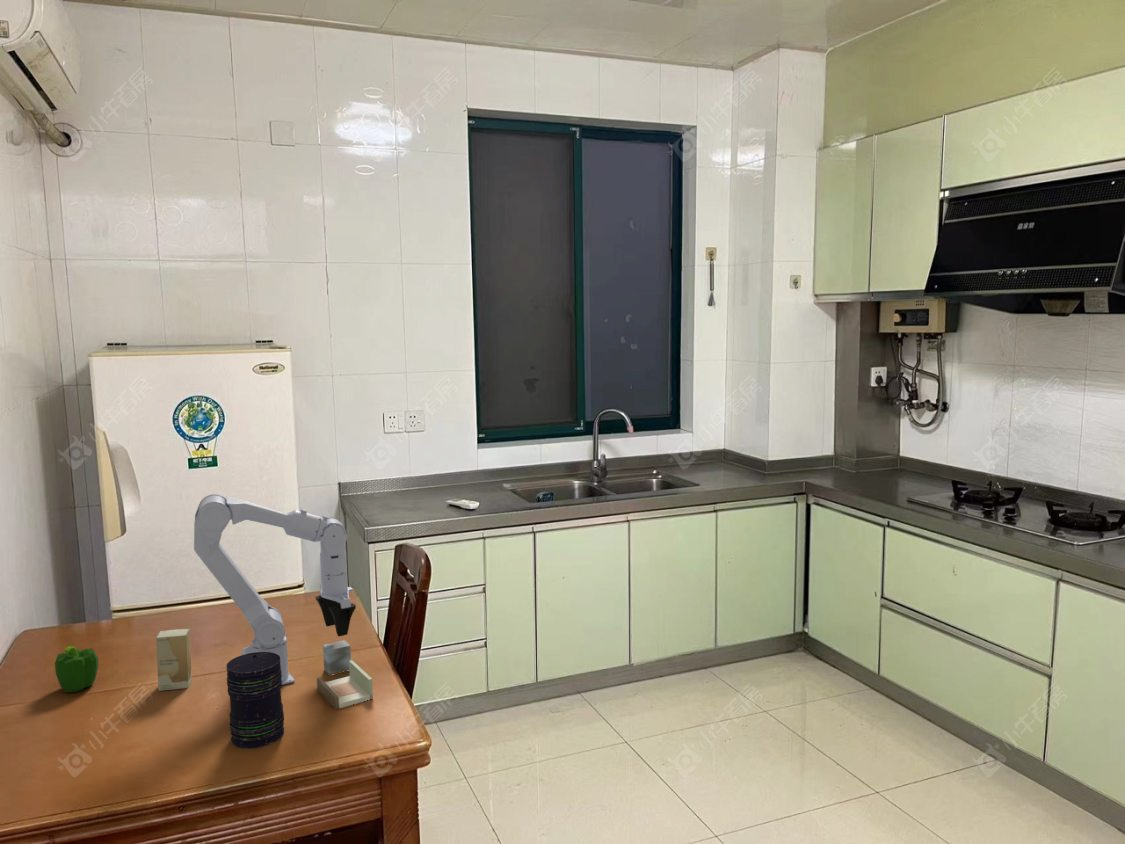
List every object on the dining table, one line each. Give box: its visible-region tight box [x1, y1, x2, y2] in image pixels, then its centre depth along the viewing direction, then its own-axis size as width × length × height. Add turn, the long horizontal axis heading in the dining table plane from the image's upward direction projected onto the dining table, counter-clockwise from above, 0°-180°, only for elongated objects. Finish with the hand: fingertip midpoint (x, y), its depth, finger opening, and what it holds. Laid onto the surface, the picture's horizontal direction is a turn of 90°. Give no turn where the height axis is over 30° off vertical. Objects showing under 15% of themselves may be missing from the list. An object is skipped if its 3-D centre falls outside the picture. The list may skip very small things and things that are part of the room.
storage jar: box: [226, 652, 285, 750], centre depth 157 cm, size 10×10×15 cm
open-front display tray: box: [316, 659, 374, 710], centre depth 175 cm, size 8×12×4 cm, turn 34°
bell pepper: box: [54, 645, 99, 693], centre depth 180 cm, size 8×8×10 cm
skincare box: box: [156, 628, 193, 692], centre depth 180 cm, size 6×4×12 cm
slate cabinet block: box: [322, 639, 352, 676], centre depth 188 cm, size 5×4×6 cm
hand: (336, 630), depth 187 cm, fingers open, 7 cm apart
